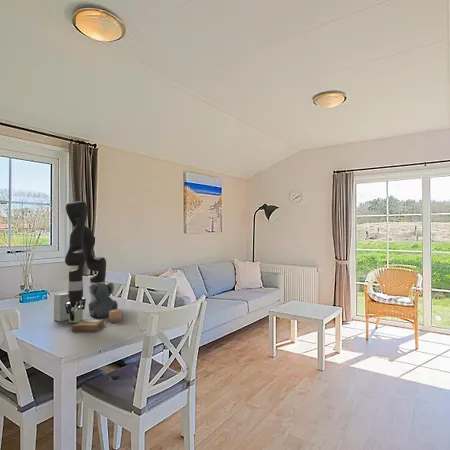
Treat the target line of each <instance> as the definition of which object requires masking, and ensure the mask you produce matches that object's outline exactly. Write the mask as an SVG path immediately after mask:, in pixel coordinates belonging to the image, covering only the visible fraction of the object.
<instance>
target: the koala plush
mask: <svg viewBox="0 0 450 450" xmlns="http://www.w3.org/2000/svg"><path fill="white" fill-rule="evenodd" d="M115 287H116V286H115V283H114V282H112V281H111V282H108V283H107V284H106V283H105V284H99V285H98V286H96V285H94V284H93V285H90V284H89V285H88V292H89V295H90V294H92V295H94V296H95V298H96V299H97V300H94V301H93V302H90V301H89V303H88V311H89V314H90V316H91V317H94V318H96V317H97V318H101V319H102V318H106V317H109V311H110V310H113V309H119V308H118V307H119V305H118V302H117V300H113V298H111V297H110V296H111V295H112V294H113V293H114V292H115Z"/></svg>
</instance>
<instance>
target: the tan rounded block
mask: <svg viewBox="0 0 450 450" xmlns="http://www.w3.org/2000/svg"><path fill="white" fill-rule="evenodd" d="M122 321H123V309H119V308H117V309H113V310H110V311H109V316H108V323H110V324H115V323H116V324H118V323H121V322H122Z"/></svg>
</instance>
